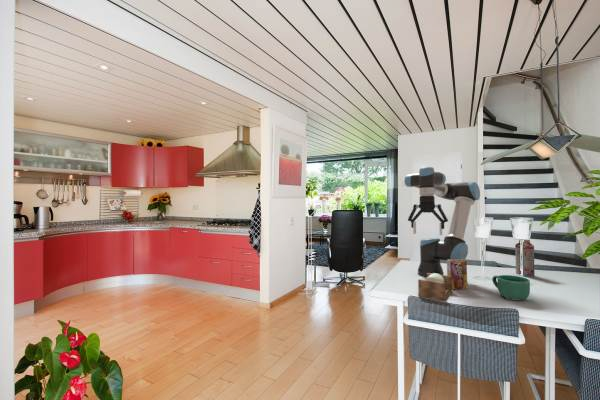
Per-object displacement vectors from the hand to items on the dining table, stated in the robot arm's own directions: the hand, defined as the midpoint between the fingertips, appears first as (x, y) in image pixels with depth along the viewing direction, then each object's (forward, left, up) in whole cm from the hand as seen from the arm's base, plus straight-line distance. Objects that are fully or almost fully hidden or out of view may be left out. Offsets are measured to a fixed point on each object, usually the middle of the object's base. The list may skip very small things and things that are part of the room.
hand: (427, 234), depth 160 cm
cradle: (+10, +6, -29) cm, 31 cm away
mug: (-6, +36, -29) cm, 47 cm away
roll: (+10, +6, -28) cm, 30 cm away
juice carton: (-63, +42, -29) cm, 81 cm away
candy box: (-7, +13, -29) cm, 32 cm away
